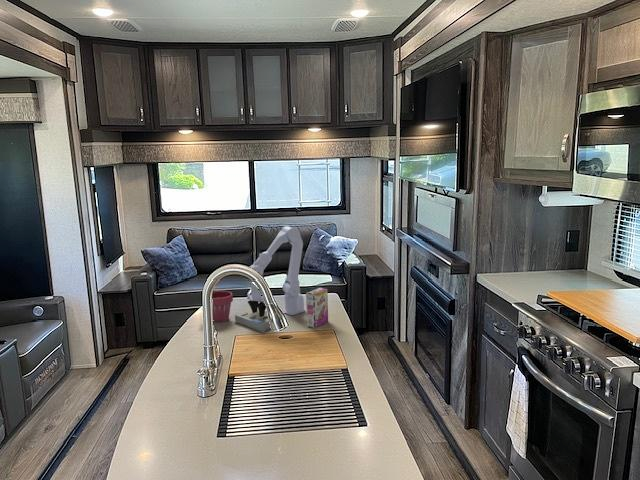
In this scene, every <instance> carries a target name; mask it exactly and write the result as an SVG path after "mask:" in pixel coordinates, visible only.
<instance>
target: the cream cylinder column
mask: <svg viewBox="0 0 640 480" xmlns="http://www.w3.org/2000/svg"><path fill="white" fill-rule="evenodd" d="M266 310H267V309H265V314H264V316H263V317H260V315H259V310H258V312H255V313H250V314H249V313H248V315H246V316H244V317H249V316H253V315H255V316H256V319H258V318H263V319H264V318H266V317H268V316H267V311H266Z"/></svg>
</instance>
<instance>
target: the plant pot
mask: <svg viewBox="0 0 640 480" xmlns="http://www.w3.org/2000/svg"><path fill="white" fill-rule="evenodd" d="M212 292H213V297H212V299H213V320H214V322H215V323H219V322H220V323H221V322H225V321H227V320H229V317H230V312H231V306H232V305H231V304H232V303H233V300H234V299H233V298H234V297H233V293H232V291H227V290H216V291H212Z"/></svg>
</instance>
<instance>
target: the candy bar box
mask: <svg viewBox="0 0 640 480" xmlns="http://www.w3.org/2000/svg"><path fill="white" fill-rule="evenodd" d="M328 291H329V290H328V288H323V287H318V288H315V289H313V290H310V291H307V292H305V301H306V304H305V305H306V306H305V307H306V327H308V328H311V329H312V328H313V329H316V328H318V327H320V326H322V325H324V324H326V323H328V322H329V303H328V302H329V301H328V300H329V297H328V296H329V295H328V294H329V293H328Z"/></svg>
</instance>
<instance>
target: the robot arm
mask: <svg viewBox="0 0 640 480" xmlns="http://www.w3.org/2000/svg"><path fill="white" fill-rule="evenodd" d="M288 242H289V244H290V245H291V251H290V257H289V258H290V259H289V266H288V271H287V273H288V274H287V276H286V277H285V279H284V283H283V284H282V290H283V292H284V308H285V309H284V311H285V312H284V313H283V314H285V313H286V315H289V316H295V315H297V314H301V313H303V312H305V311H306V310H305V304H304V303H305V301H304V300H305V299H304V296H303V295H302V293H301V288H300V279H299V274H300V268H301V261H302V260H301V259H302V253H303V248H304V242H303V239H302V236H301V232H300V231H299V230H298V229H297V228H295V227H291V226H290V225H289V226H288V225H285V226H283V227H282V228H281V230H280V231H279V232H278V234H276V237H275V238H274V240H273V241H272V243H271V244H270V246H269V247H268V249H267V250H266V251H263V252H261V253H259V254H258V257H257V259H256V260H255V261H253V263H252V264H251V265H250V266H249V267H251V268H253V269H255V270H256V271H257V272H259V273H260V274H261V275H262V276H263V274H264V270H265V269H266V267H268V265H269V264H270V263H271V261H272V259H273V254H275V252H276V251H277V250H278V249H279V248H280V246H282V244H287V243H288ZM246 297H247V300H248V301H247V304H248V305H249V307H250V309H251V312H252V313H255V312H258V311H259V315H260V317H263V316H264V314H265V310H267V309H266V308H267V307H266V306H265V303H264V300H263V298H262V296H261V293H260V291H259V290H258V288H257V287H256V286H255V285H254V284H253V283H252V282H251V281H250V294H247V295H246ZM252 313H251V314H252ZM263 318H264V317H263Z"/></svg>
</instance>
